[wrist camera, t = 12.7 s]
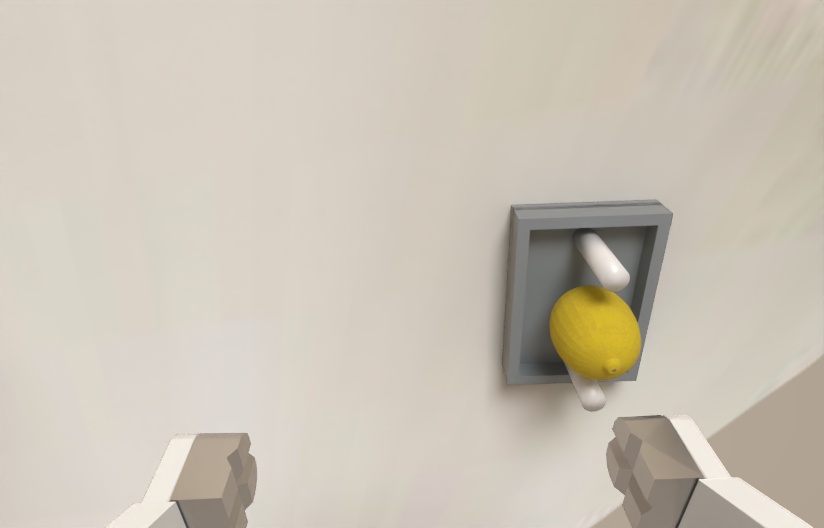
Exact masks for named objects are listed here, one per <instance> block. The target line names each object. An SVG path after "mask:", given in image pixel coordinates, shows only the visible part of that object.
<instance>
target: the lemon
mask: <svg viewBox="0 0 824 528" xmlns="http://www.w3.org/2000/svg"><path fill="white" fill-rule="evenodd" d="M549 326H550V335H551V339H552V342H553V344H554V346H555V348H556V350H557V352H558V354H559V356H560V357H561V358H562V359H563V361H564V362H565V363H566V364H567V365H568V366H569V367H570V368H571V369H572V370H573V371H575V372H576V373H578V374H580V375H581V376H583V377H586V378H589V379H593V380H610V379H613V378H617V377H619V376H621V375H623V374H625V373H626V372H627V371H628V370H630V369H631V367H632V366H633V365H634V364H635V362H636V361H637V359H638V357H639V354H640V349H641V335H640V330H639V325H638V322H637V320H636V318H635V316H634V314H633V312H632V311H631V309H630V307H629V306H628V305H627V304H626V303H625V302H624V301H623V300H622V299H621V298H620V297H619V296H618V295H617V294H615V293H614V292H610V291H607V290H606V289H605V288H603V287H598V286H593V285H590V286H580V287H576V288H574V289H571V290H569V291H567V292H566V293H565V294H563V295H562V296H561V297H560V298H559V299H558V300H557V302H556V303H555V305H554V307H553V309H552V311H551V316H550V320H549Z"/></svg>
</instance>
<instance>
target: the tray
mask: <svg viewBox="0 0 824 528" xmlns="http://www.w3.org/2000/svg"><path fill="white" fill-rule="evenodd" d="M672 217H673V213H672V212H671V211H670V210H668V209H667V208H666V207H665V206H664V205H662V204H661V203H660V202H659V201H657V200H636V201H609V202H582V203H555V204H527V205H512V208H511V225H510V242H509V258H508V275H507V292H506V308H505V325H504V342H503V358H502V366H503V370H504V373H505V377H506V381H507V385H520V384H550V383H573V384H574V387H575V389H576V391H577V394H578V396H579V398H580V401H581V403H582V406H583V408H584V409H585V410H587V411H598V410H600V409H602V408H603V407H604V406H605V404H606V398H605V396H604V394H603V392H602V390H601V388H600V386H599V384H598V382H610V381H636V379H637V374H638V370H639V365H640V361H641V356H642V352H643V347H644V343H645V338H646V334H647V329H648V325H649V320H650V316H651V311H652V307H653V302H654V298H655V293H656V289H657V284H658V280H659V275H660V271H661V266H662V262H663V257H664V253H665V248H666V244H667V239H668V235H669V230H670V226H671V221H672ZM590 285H593V286H598V287H603V288H605V289H606V290H607V291H610V292H614V293H615V294H617V295H618V296H619V297H620V298H621V299H622V300H623V301H624V302H625V303H626V304H627V305H628V306H629V307H630V309H631V311H632V312H633V314H634V316H635V318H636V320H637V322H638V325H639V330H640V335H641V349H640V354H639V357H638V359H637V361H636V362H635V364H634V365H633V366H632V367H631V369H630V370H628V371H627V372H626V373H625V374H623V375H621V376H619V377H617V378H613V379H610V380H593V379H589V378H586V377H583V376H581V375H580V374H578V373H576V372H575V371H573V370H572V369H571V368H570V367H569V366H568V365H567V364H566V363H565V362H564V361H563V359H562V358H561V357H560V356H559V354H558V352H557V350H556V348H555V346H554V344H553V342H552V339H551V335H550V326H549V320H550V316H551V311H552V309H553V307H554V305H555V303H556V302H557V300H558V299H559V298H560V297H561V296H562V295H563V294H565V293H566V292H567V291H569V290H571V289H574V288H576V287H580V286H590Z"/></svg>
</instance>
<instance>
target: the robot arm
mask: <svg viewBox="0 0 824 528" xmlns="http://www.w3.org/2000/svg"><path fill="white" fill-rule="evenodd" d="M612 430H613V432H614V434H615V436H616V437H615V438H614V439H613V440H612V441H610V442H609V443H608V448H607V452H606V458H607V468H608V472H609V475H610V478H611V480H612V483H613V485H614V487H615V488H617V489H618V490H619V491H620V492H621V493H623V494H624V495H625V497H624V501H623V504H622V506H623V508H624V511H625V513H626V515H627V517H628V520H629V522H630V525H631V527H632V528H813V527H812V526H810V525H809V524H807V523H806V522H804V521H803V520H801V519H800V518H798V517H797V516H795V515H794V514H792V513H791V512H789V511H788V510H786V509H785V508H783V507H782V506H780V505H779V504H777V503H776V502H774V501H773V500H771V499H770V498H768V497H767V496H765V495H764V494H762V493H761V492H759V491H758V490H757V489H755V488H753V487H752V486H751V485H749V484H748V483H746V482H744V481H743V480H741V479H740V478H738V477H737V478H736V477H734V478H731V476H730V475H729V473H728V472H727V470H726V469H725V467H724V466H723V464H722V463H721V461H720V460H719V458H718V457H717V455H716V454H715V452H714V451H713V449H712V448H711V447H710V445H709V444H708V442H707V441H706V439H705V438H704V436H703V435H702V433H701V432H700V430H699V429H698V427H697V426H696V424H695V423H694V421H693V420H692V418H690V417H689V416H688V415H686V414H685V415H663V416H661V415H655V416H636V417H618V418H617V419H616V420H615V422H614V425H613V428H612ZM250 445H251V442H250V439H249V436H248V433H204V434H176V435H175V436H174V437H173V438H172V439H171V440H170V442H169V444H168V446H167V448H166V450H165V453H164V455H163V457H162V459H161V461H160V463H159V465H158V468H157V470H156V472H155V474H154V476H153V478H152V480H151V483H150V485H149V487H148V489H147V491H146V493H145V495H144V498H143V500H142V502H141V503H134V504H132V505H131V506H130V507H129V508H128V509H127V510H125V511H124V512H123V513H122V514H121V515H119V516H118V517H117V518H116V519H115V520H114V521H112V522H111V523H110V524H109V525H108V526H106V527H105V528H246V527H247V523H248V520H247V517H246V514H245V510H246V508H247V507H248V506H249V505H250V504H251V503H252V502H253V499H254V495H255V491H256V483H257V466H256V461H255V457H253V456H252V455H251V454H249V453H248V452H249V449H250Z"/></svg>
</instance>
